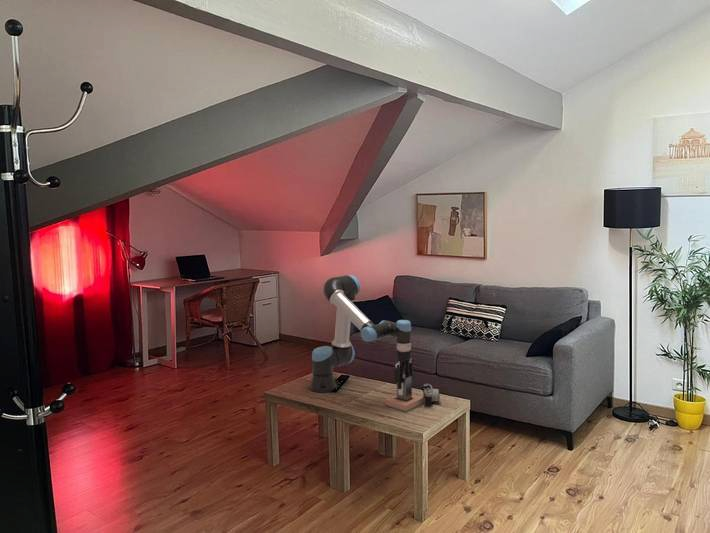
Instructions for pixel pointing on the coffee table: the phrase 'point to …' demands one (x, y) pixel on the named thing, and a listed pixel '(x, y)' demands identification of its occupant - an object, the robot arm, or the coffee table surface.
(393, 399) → the pink square frame
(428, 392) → the camera
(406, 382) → the grey wood-topped pillar
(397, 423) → the coffee table surface
